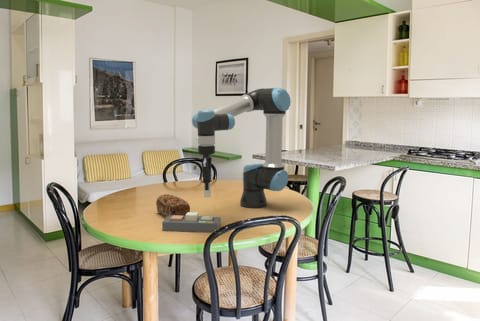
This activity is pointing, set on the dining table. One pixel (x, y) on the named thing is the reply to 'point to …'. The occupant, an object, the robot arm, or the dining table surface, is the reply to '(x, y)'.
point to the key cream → (192, 216)
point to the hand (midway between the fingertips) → (207, 196)
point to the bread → (172, 206)
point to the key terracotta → (176, 218)
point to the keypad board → (191, 225)
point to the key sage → (207, 218)
